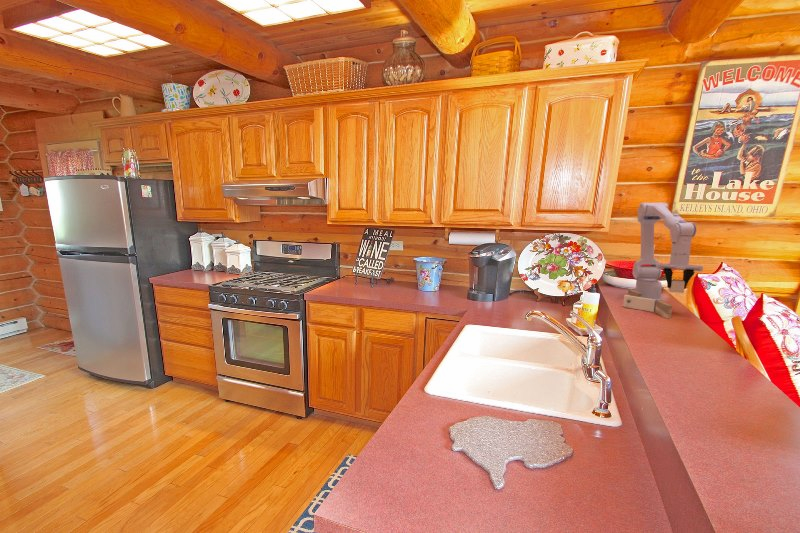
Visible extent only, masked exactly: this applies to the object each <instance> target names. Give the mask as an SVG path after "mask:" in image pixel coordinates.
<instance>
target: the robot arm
mask: <svg viewBox="0 0 800 533" xmlns="http://www.w3.org/2000/svg"><path fill="white" fill-rule="evenodd" d="M662 220H663V221H662ZM661 221H662V222H663V224H664V226H665V227H666V228H667V229H668V230H669V234H670V241H671V251H670V259H669V260H670V261H669V263H660V262H659V261H658V260H656V259H655V224H656V223H658V222H661ZM637 222H638V223H640V258H639V259H637V260H636V261H635V262H634V263H633V268H632V272H631V273H632V276H633V278H634V279H635V282H636V283H635V290H634V291H637V292H639V293H642V298H648V299H654V300H659V301H662V299H661V298H662V289H663V285H662V283H661V281H660V280H659V279H660V278H661V276H662V271H663V273H664V274H663V275H664V276H665V279H666V282H667V288H668V289H669V288H671V279H673V273H674V272H673V270H675V271H682V273H683V275H682V280H683V281H685V285H684V290H685V289H686V288H687V285H688V283H689V282H690V280H691V279H692V278H693V276H695V272H703V270H704V266H703V265H696V264H695V265H694V264H689V262H690V256H691V255H690V254H691V246H692V238H694V237H695V236H696V234H697V226H696V223H695V222H691V221H690V222H687V221H686V220H685V219H684V218H683V217H681V216H680V214H678V213H672V212H671V211H670V209H669V204H668V203H667V202H665V201H664V202H641V203H640V204H639V205H638V208H637Z"/></svg>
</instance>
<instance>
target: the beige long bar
mask: <svg viewBox="0 0 800 533" xmlns="http://www.w3.org/2000/svg"><path fill="white" fill-rule="evenodd" d="M627 295H629V296H635V297H641V298H642V293H639V292H637V291H635V290H634V289H627ZM672 312H673V305H671V304H669V303H666V302H663V301H662V300H661V301H656V308H655V312H654V314H656V313H657V314H656V315H658V314H659V316H660V315H661V316H660V317H663V318H665V319H672Z"/></svg>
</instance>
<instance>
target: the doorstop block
mask: <svg viewBox="0 0 800 533" xmlns="http://www.w3.org/2000/svg"><path fill="white" fill-rule="evenodd" d="M684 285H685V281H683V279H678V278H677V279H675V278H672V279H671V288H668V291H669V292H671V293H678V294H679V293H681V294H684V292H685V291H684V290H685V289H684Z"/></svg>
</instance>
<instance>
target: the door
mask: <svg viewBox="0 0 800 533" xmlns="http://www.w3.org/2000/svg"><path fill="white" fill-rule="evenodd" d="M656 301H659V300H654V299H648V298H641V297H635V296H629V295H628V294H624V296H623V304H622V305H623V306H622V307H623V308H629V309H634V310H639V311H646V312H650V313H655V308H656Z"/></svg>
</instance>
